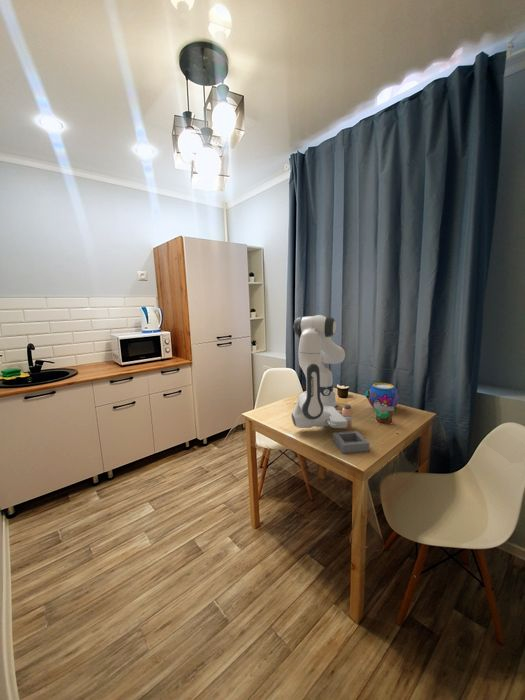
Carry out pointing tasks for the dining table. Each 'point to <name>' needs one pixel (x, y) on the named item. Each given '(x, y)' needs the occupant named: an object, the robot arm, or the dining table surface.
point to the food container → (383, 412)
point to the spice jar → (347, 412)
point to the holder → (350, 442)
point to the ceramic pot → (383, 394)
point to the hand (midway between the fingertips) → (348, 415)
